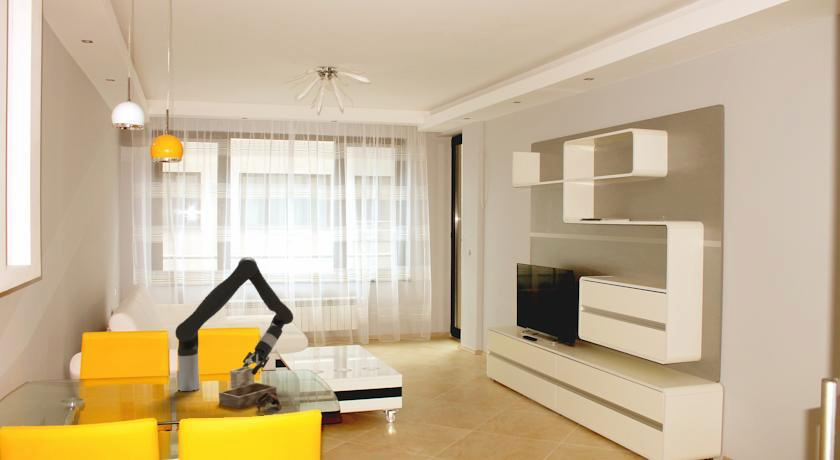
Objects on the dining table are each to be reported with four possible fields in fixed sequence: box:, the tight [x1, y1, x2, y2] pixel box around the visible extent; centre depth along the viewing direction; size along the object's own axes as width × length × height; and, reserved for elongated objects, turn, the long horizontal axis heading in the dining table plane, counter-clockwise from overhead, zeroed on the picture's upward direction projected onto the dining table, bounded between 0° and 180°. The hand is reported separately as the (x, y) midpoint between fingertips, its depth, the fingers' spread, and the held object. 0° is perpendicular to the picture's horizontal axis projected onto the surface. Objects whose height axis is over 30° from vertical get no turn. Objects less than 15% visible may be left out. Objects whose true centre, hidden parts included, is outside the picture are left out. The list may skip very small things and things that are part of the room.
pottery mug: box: [255, 392, 282, 411], centre depth 277 cm, size 12×10×8 cm
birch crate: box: [229, 366, 255, 389], centre depth 305 cm, size 9×6×11 cm, turn 141°
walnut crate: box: [218, 382, 278, 410], centre depth 290 cm, size 20×15×5 cm
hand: (247, 372), depth 308 cm, fingers open, 8 cm apart
